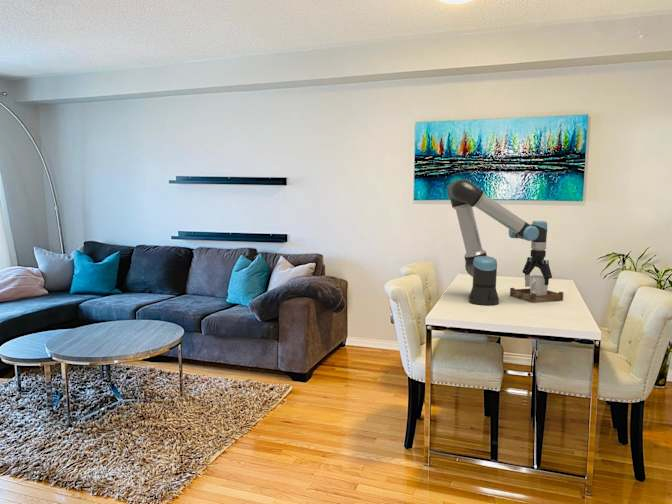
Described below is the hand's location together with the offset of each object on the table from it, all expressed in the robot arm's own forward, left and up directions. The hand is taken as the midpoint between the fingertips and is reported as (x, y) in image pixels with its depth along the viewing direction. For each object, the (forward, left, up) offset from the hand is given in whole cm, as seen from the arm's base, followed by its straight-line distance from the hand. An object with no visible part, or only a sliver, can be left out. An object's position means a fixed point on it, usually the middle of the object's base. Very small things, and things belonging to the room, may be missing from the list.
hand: (535, 288), depth 279 cm
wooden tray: (0, 0, -5) cm, 5 cm away
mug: (0, 0, -4) cm, 4 cm away
